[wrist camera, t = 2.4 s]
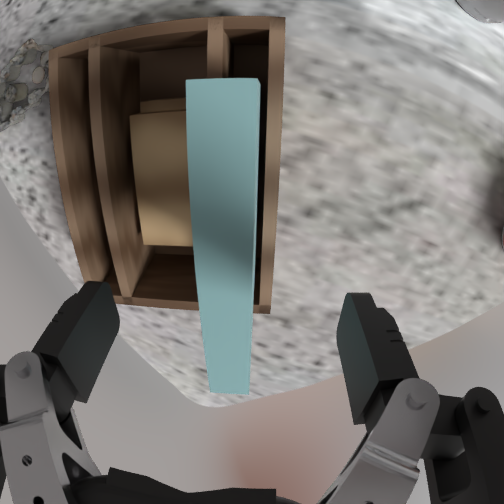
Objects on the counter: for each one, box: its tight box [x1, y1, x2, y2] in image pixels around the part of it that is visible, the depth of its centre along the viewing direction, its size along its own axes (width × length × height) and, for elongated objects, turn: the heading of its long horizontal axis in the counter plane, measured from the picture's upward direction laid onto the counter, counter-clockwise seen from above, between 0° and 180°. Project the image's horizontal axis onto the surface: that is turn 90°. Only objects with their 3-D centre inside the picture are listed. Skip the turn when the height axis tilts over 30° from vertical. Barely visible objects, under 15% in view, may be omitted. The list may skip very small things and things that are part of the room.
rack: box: [49, 16, 285, 314], centre depth 26 cm, size 24×18×10 cm
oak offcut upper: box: [130, 109, 193, 246], centre depth 26 cm, size 12×6×2 cm, turn 179°
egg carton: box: [0, 39, 53, 132], centre depth 23 cm, size 11×8×4 cm
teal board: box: [186, 78, 261, 395], centre depth 20 cm, size 14×2×20 cm, turn 179°
